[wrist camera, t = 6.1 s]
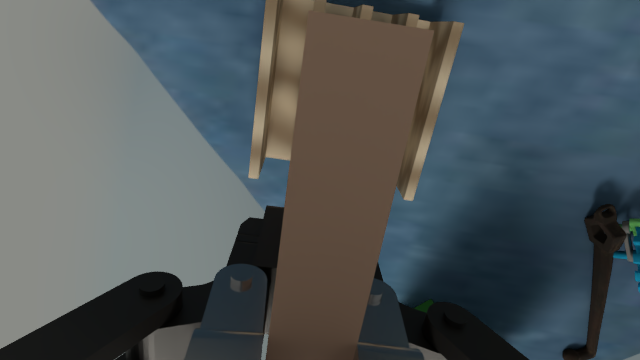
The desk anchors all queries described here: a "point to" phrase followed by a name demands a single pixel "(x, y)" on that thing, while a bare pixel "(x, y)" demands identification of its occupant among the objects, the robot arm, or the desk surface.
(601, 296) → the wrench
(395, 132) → the tall sheet
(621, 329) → the desk surface
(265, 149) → the rack
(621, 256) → the gear
